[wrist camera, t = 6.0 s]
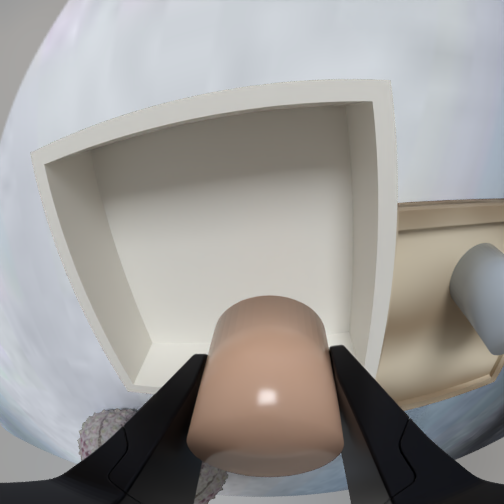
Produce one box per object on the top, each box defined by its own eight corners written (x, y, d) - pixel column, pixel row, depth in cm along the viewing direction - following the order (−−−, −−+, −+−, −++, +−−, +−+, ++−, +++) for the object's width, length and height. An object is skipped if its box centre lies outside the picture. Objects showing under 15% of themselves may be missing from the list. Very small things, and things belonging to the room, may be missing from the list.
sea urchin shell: (65, 399, 21) (32, 463, 13) (169, 384, 17) (135, 492, 10) (153, 466, 25) (137, 522, 18) (259, 462, 22) (254, 536, 15)
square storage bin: (357, 331, 14) (373, 385, 11) (150, 343, 15) (127, 391, 12) (355, 90, 9) (390, 80, 6) (84, 138, 11) (30, 152, 7)
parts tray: (489, 372, 16) (494, 381, 15) (352, 409, 17) (354, 420, 16) (545, 198, 10) (556, 203, 9) (372, 204, 11) (380, 212, 10)
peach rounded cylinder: (324, 372, 10) (336, 471, 6) (225, 378, 10) (208, 474, 7) (326, 289, 8) (353, 406, 5) (202, 299, 9) (164, 411, 5)
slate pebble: (491, 298, 12) (527, 344, 8) (443, 310, 12) (477, 363, 9) (506, 240, 10) (553, 279, 7) (456, 246, 11) (505, 293, 7)
